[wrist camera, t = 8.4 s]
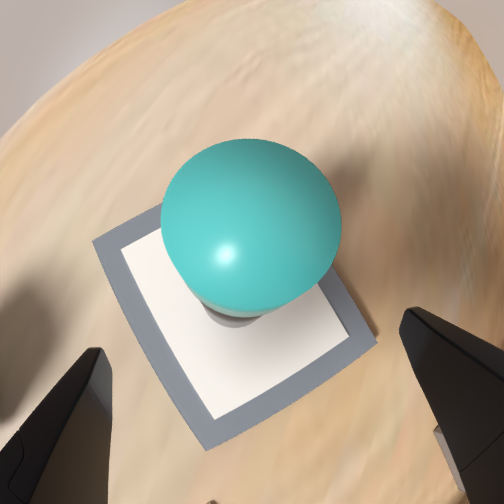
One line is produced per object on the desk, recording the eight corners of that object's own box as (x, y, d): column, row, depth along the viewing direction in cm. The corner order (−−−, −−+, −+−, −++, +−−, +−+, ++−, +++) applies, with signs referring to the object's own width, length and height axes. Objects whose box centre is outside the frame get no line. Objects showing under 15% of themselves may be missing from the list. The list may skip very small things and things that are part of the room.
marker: (282, 290, 18) (370, 208, 7) (239, 343, 17) (268, 348, 6) (229, 248, 18) (241, 113, 7) (185, 299, 17) (124, 224, 6)
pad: (371, 343, 19) (379, 342, 18) (206, 446, 16) (205, 452, 15) (259, 162, 21) (260, 154, 20) (96, 244, 18) (90, 240, 17)
